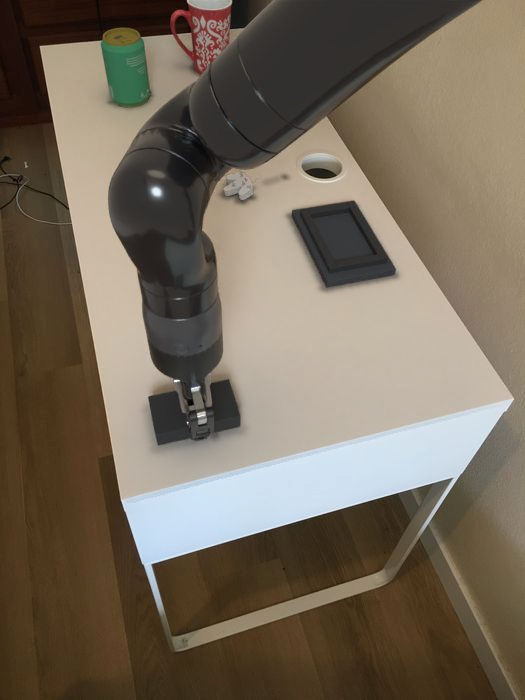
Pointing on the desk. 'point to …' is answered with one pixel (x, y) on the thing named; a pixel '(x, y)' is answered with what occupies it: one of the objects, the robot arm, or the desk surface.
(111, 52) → the beverage can
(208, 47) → the mug
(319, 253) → the base pad
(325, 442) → the desk surface
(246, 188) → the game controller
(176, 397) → the black pad
